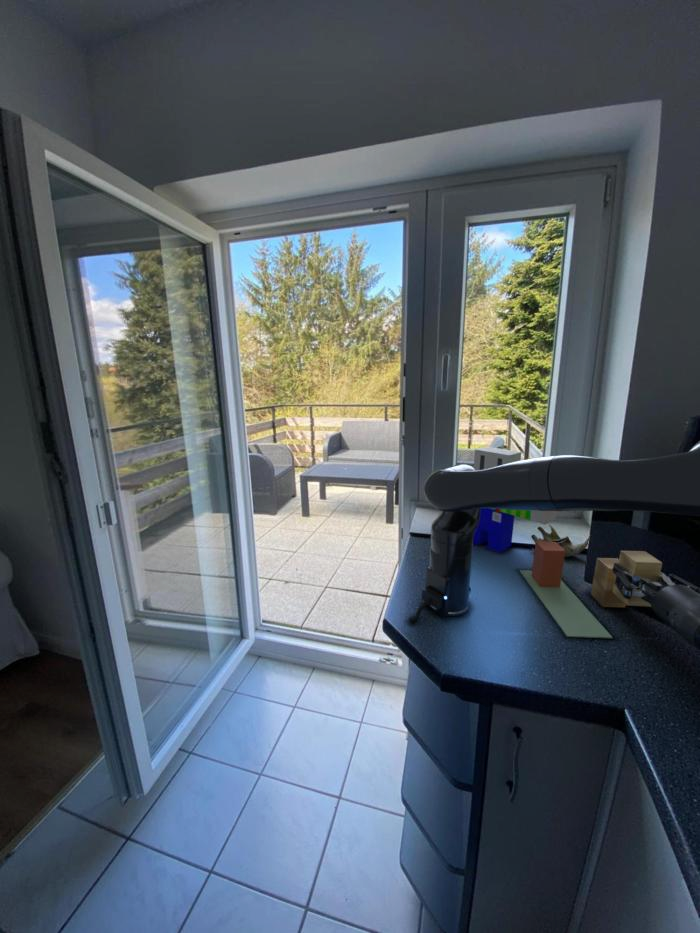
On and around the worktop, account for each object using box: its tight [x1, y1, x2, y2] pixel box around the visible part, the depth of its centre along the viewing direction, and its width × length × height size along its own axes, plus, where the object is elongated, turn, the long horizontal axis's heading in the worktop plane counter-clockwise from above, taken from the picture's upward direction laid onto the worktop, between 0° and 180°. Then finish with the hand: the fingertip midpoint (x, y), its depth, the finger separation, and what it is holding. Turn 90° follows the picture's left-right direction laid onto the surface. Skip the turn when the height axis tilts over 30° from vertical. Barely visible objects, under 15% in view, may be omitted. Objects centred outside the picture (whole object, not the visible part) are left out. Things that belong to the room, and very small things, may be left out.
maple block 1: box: [590, 557, 627, 608], centre depth 87 cm, size 5×5×10 cm
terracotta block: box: [531, 542, 566, 587], centre depth 95 cm, size 5×5×10 cm
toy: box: [473, 446, 558, 553], centre depth 114 cm, size 34×7×30 cm, turn 40°
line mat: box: [519, 569, 613, 639], centre depth 89 cm, size 26×9×1 cm, turn 176°
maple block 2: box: [613, 550, 663, 608], centre depth 78 cm, size 5×5×10 cm
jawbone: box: [530, 524, 589, 558], centre depth 109 cm, size 9×15×10 cm
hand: (629, 567), depth 80 cm, fingers closed on maple block 2, 5 cm apart
